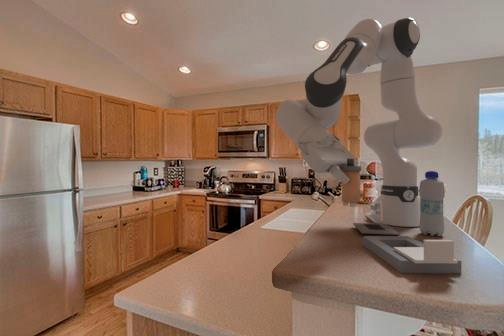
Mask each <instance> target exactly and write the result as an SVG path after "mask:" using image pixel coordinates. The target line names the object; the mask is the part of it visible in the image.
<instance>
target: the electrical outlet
mask: <svg viewBox="0 0 504 336" xmlns="http://www.w3.org/2000/svg"><path fill="white" fill-rule="evenodd" d="M352 225H353V226H354V227H355V228H356V229H357V230H358V231H359V232H360V234H362V235H363V236H401V233H399V232H398V231H396V230H395V229H393V228H392V227H391V226H390V225H387V224H380V223H374V222H372V223H370V222H368V223H367V222H352Z"/></svg>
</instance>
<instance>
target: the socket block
mask: <svg viewBox="0 0 504 336" xmlns="http://www.w3.org/2000/svg"><path fill="white" fill-rule="evenodd" d="M362 244H363V246H364V247H365V248H366V249H367V250H369V251H370V252H371V253H373V254H374V255H376V256H377V257H378V258H380V259H381V260H382V261H384V262H385V263H386V264H388V265H389V266H390V267H392V268H393V269H395V271H397V272H398V273H400V274H462V260H461V259H457V258H456V257H454V259H456V260H457V263H415V262H413V261H411V260H410V259H408V258H406V257H405V256H403V255H401V254H400V253H398V252H396V251H395V250H394V247H424V242H421V241H419V240H418V239H417V240H416V239H414V238H413V237H411V236H408V235H399V236H371V235H363V236H362Z"/></svg>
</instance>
